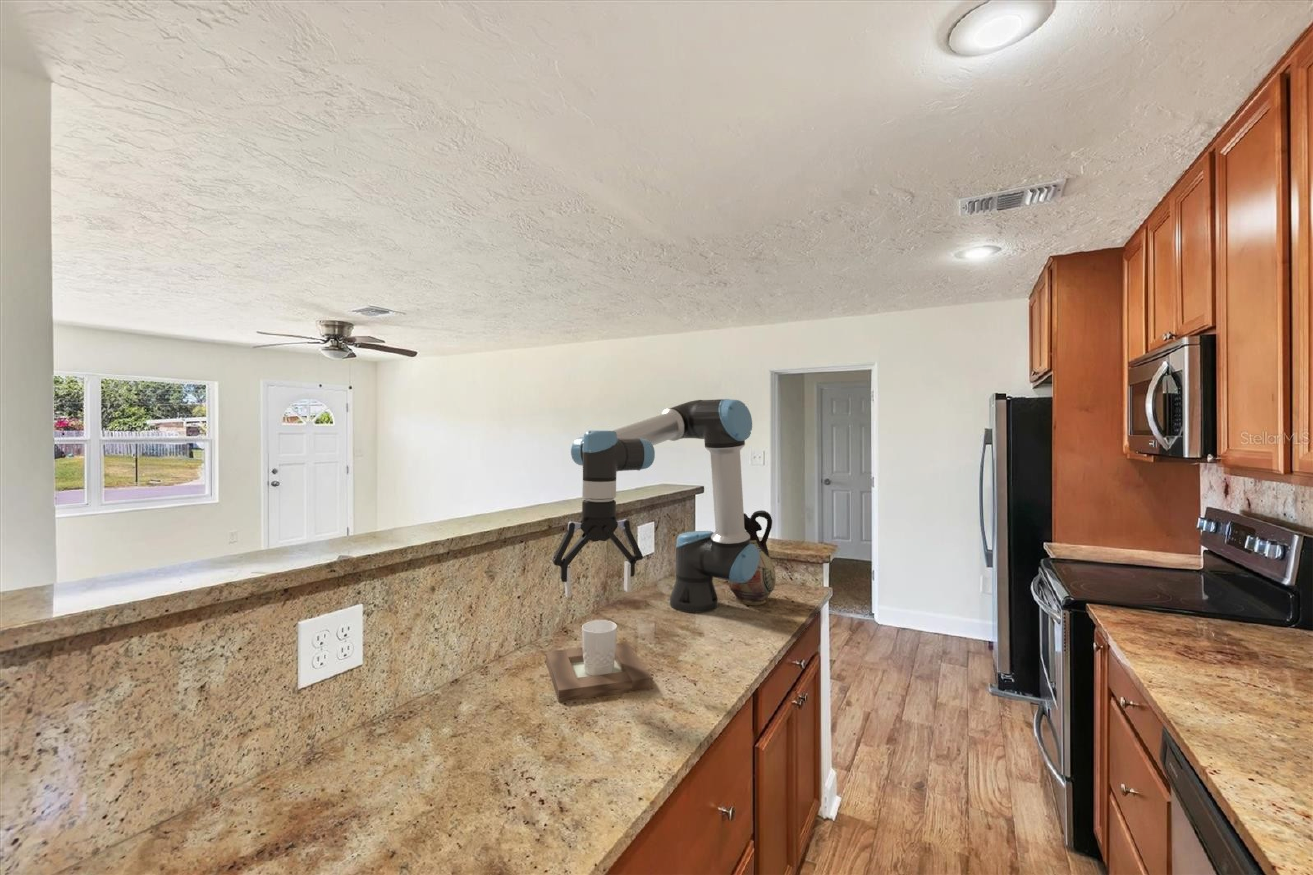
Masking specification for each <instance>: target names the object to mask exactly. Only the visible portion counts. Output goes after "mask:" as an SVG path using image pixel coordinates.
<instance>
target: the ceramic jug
mask: <svg viewBox="0 0 1313 875" xmlns="http://www.w3.org/2000/svg"><path fill="white" fill-rule="evenodd" d="M757 518H762V519H763V518H764V519H765V520H766V527H765V531H764V534H763V536H762V538H761V540H760V538H759V536H758V531H759V532H760V531H763V528H762V525H761V524H760V523H759V521H757V520H756V519H757ZM772 527H773V518H772V516H771V514H770V513H769V512H768V511H766V510H761V509H760V510H757V511H754V512H753V513H752V514H751V516H750V517H749V516H748V515H747V514H746V513H744V528H745V531H746V532H748V533H749V534H750V542H751V544H754V545H755V546H757V548H758V550H759V564H758V567H757V570H756V572H755V574H754V575H753V577H752V578H751V579H750V580H749V581H747V582H745V583H738V582H731V581H728V580H727V584H728V587H729V588H730V590H731V592H732V593H733V595H734V596H735V597H736V598H735V599H736V601H737V602H738V603H739V604H742V605H748V606H759V605H763V604H765V603H767V601H768V600H767V598H768V597H769V596H770V595H771V593H772V592H773V591H774V590H775V586H776V582H777V578H776V577H777V576H776V570H775V566H774V564H773V561H772V559H771V557H770V554H769V549H768V544H767V541H768V539H769V536H770V533H771V530H772Z"/></svg>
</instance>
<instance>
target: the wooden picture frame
mask: <svg viewBox="0 0 1313 875" xmlns="http://www.w3.org/2000/svg"><path fill="white" fill-rule="evenodd" d="M545 664H546V667H547V670H548V673H549V677H550V679H551V681H552V682H551V683H552V687H553V689H554V692H555V694H556V695H555V696H556V698H557V701H558V703H563V702H569V701H577V700H583V699H590V698H598V697H604V696H611V695H617V694H626V693H632V692H637V691H638V692H639V691H645V690H646V691H647V690H653V686H654V685H653V678H654V677H653V676H652V675H651V673H650V672H649V671H648V669H647V668H646V666H645V665H644V663H643V662H642V661H641V659H640V658H639V656H637V653H636V652H635V651H634V650H633V648H632V647H631V645H630V644H629V643H628V642H619V643H616V650H615V659H614V670H613V672H612V673H610V674H602V675H594V676H591V675H588V674H587V673H585V671H584V660H583V647H582V646H581V647H575V648H567V649H566V648H565V649H558V650H557V649H555V650H550V651H549V650H548V651H545Z"/></svg>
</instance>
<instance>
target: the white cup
mask: <svg viewBox="0 0 1313 875" xmlns="http://www.w3.org/2000/svg"><path fill="white" fill-rule="evenodd" d="M617 632H618V625H617V624H616V622H614V621H611V620H605V619H597V620H589V621H588V622H585V623H583V624H582V626H581V641H582V642H581V643H582V644H581V645H582V646H581V648H582V647H583V660H584V671H585V673H587V674H588V675H591V676H594V675H602V674H610V673H612V672H613V670H614V659H615V650H616V644H617Z"/></svg>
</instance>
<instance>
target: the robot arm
mask: <svg viewBox="0 0 1313 875" xmlns="http://www.w3.org/2000/svg"><path fill="white" fill-rule="evenodd" d="M752 419H753V418H752V414H751V412H750V410H749V408H748V406H746V404H745V403H744V402H743V401H741V400H739V399H730V398H723V399H722V398H721V399H720V398H719V399H696V400H695V399H694V400H691V401H690V400H689V401H687V402H684V403H682V404H677V405H675V406H673V407H669V408H666V409H664V410H663V411H661V413H660V414H659V415H655V416H653V417H650V418H647V419H644V420H641V421H637V422H634V423H631V424H629V425H626V426H623V427H619V428H616V429H613V430H589V429H588V430H586V431H585V432H584V433H583V436H580V437H578V438H576V439H575V440H574V441H573V443H572V445H571V447H570V455H571V459H572V461H573V462H574V463H575V464H576V465H578V466H580V467H581V466H582V495H581V496H582V498H584V499H583V500H582V501H581V502H582V504H581V505H582V506H581V507H582V508H581V514H582V515H581V521H580V522H577V521H576V522H575V521H572V520H569V521H568V522H567V527H566V532H565V534H564V535H563V538H562V539H561V541H560V544H559V546H558V547H557V550H556V551H555V553H554V555H553V557H552V561H551V562H552V563H553V565H554V566H556V567H557V566H558V567H560V581H561V582H562V583H564V585H565V586H564V595H565V596H566V598H567V599H570V598H572V597H571V596H572V594H571V593H572V592H571V587H572V586H571V585H572V583H571V581H572V579H571V577H572V573H571V572H572V568H571V566H570V564H571V563H572V561H573V560H575V558H576V556H577V555H578V554H579V553H580V551H581V550H582V549H583V548H584V547H585V545H587V544H588V542H589V541H591V542H593V543H594V542H595V543H597V542H598V541H601V542H607V541H608V540H611V542H612V543H613V544H614V546H616V547H617V549H618V550H619V552H620V553H622V555H623V556H624V557H625V559H627V560H624V564H623V566H624V569H623V580H624V581H623V590H624V591H625V592H626V593H631V580H632V579H631V578H632V577H635V574H636V573H635V572H636V570H635V569H636V568H635V567H636V564H637V561H642V560H643V558H644V556H643V554H642V551H641V549H640V548H639V544H638V543H637V541H636V539H635V536H634V535H633V533H632V531H631V525H630V524H631V523H630V521H629V520H628V519H626V518H622V519H621V520H617V515H616V514H617V502H616V500H615V498H616V497H617V472H623V471H642V470H646V469H648V468H650V467H651V466H652V465H653V463H654V461H655V458H656V457H655V455H656V454H655V453H656V450H655V447H654V446H656V445H658V444H661V443H663V442H666V441H673V442H674V441H679V440H681V439H696V440H697V439H698V440H704V447H705V449H706V450H707V451H709V453H710V464H711V466H710V468H711V480H712V495H713V496H712V497H713V510H714V511H713V513H714V514H713V515H714V526H715V531H711V530H695V531H687V532H682V533H680V534H678V536H677V538H676V546H675V557H676V558H675V562H676V564H675V581H674V585H673V588H672V589H671V590H672V591H671V593H670V596H669V606H671V608H673V609H675V610H677V611H682V612H686V613H687V612H688V613H707V612H711V611H715V610H717V608H718V607H719V598H718V595H717V594H718V593H717V591H716V588H715V585H714V578H716V579H720V580H724V581H727V582H728V581H731V582H738V583H745V582H747V581H749V580H750V579H751V578H752V577H753V575H754V574H755V572H756V570H757V567H758V564H759V550H758V548H757V546H755V545H754V544H751V542H750V534H749V533H748V532H746V530H745V528H744V512H745V510H744V498H743V497H744V496H743V480H742V479H743V478H742V462H741V450H742V449H743V448H744V447H745V446H746V441H747V439H749V438H750V436H751V433H752V430H753V420H752ZM618 527H619V529H620V530H621V531H623V534H624V536H625V538H626V540H627V542H628V544H629V546H630V548H631V550H632V552H633V554H632V553H631V552H630V551H629V550H628V549H627V547H626V546H625V545H624V543H622V542H621V541H620V540H619V538H618V537H617V536H616V534H614V533H615V531H616V530H617V529H618ZM578 529H580V530H581V531H582V532H583V533H582V534H580V536H579V538H578V540H576V542H575V543H574V545H573V546H572V547H571V548H570V549H569V551H567V549H568V547H569V545H570V543H571V541H572V539H573V537H574V534H575V533H577V532H578ZM566 551H567V553H566ZM565 553H566V554H565ZM564 554H565V555H564Z"/></svg>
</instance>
